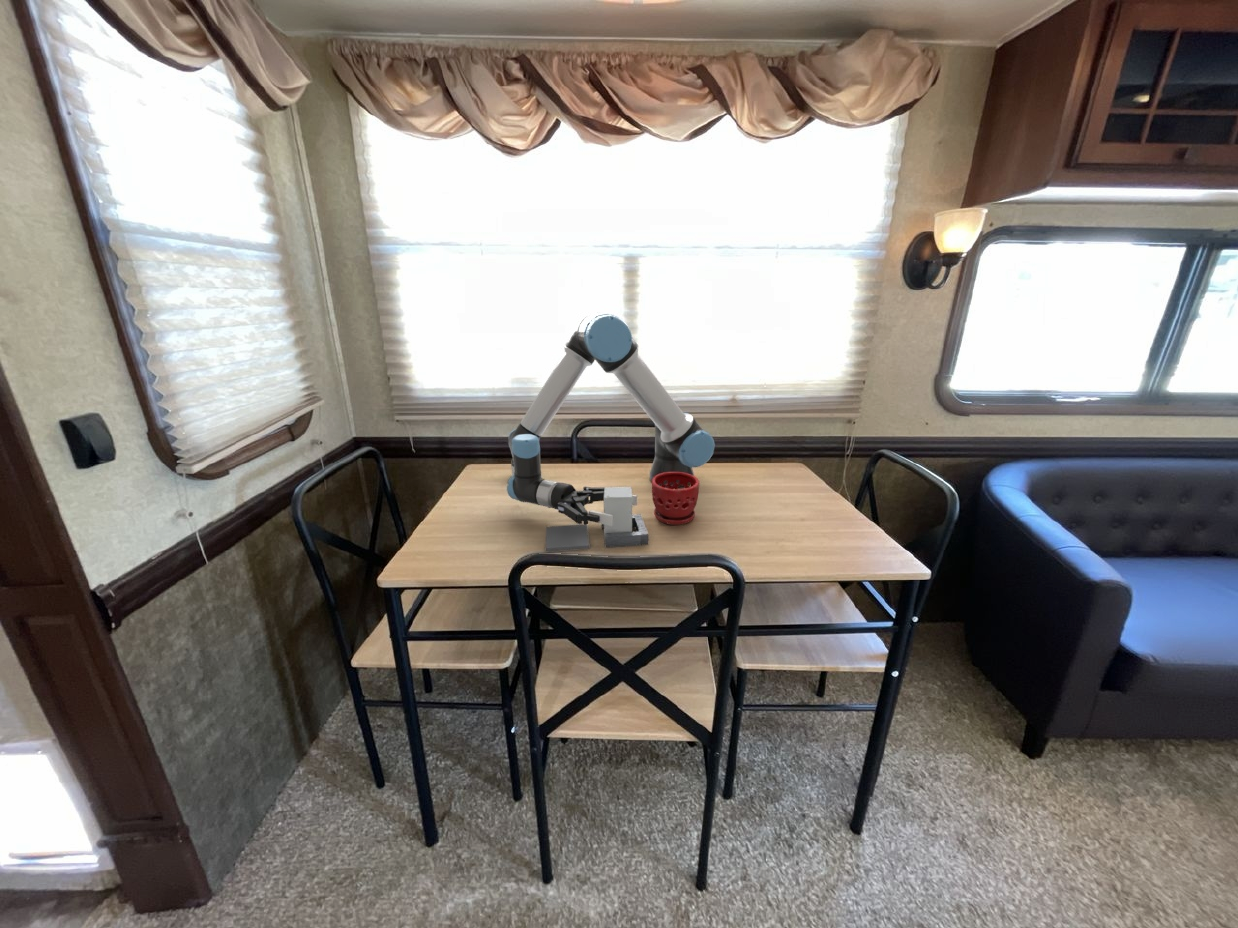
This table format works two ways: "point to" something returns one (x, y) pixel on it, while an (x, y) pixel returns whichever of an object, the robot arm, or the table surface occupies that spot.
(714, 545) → the table surface
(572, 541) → the mat
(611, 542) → the grey piece
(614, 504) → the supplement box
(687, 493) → the plant pot
